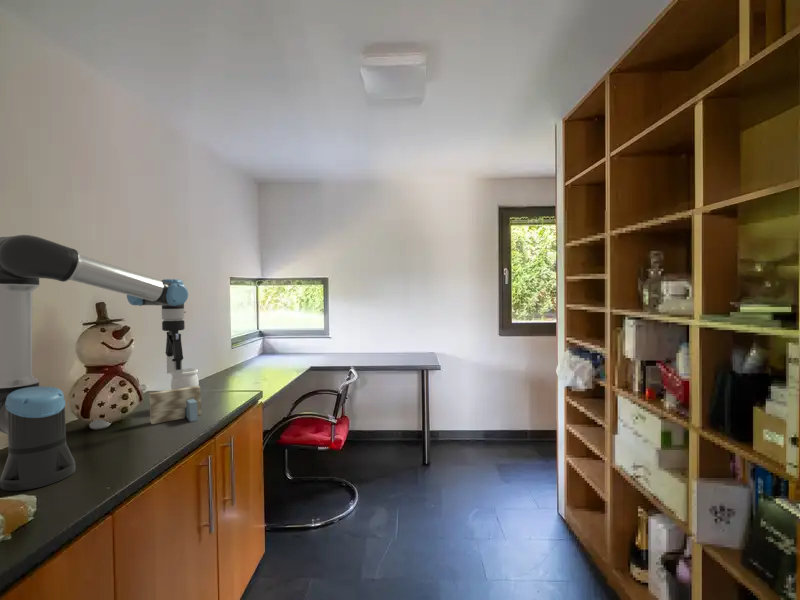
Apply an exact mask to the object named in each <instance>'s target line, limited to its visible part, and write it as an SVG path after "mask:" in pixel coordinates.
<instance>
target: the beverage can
mask: <svg viewBox="0 0 800 600" xmlns="http://www.w3.org/2000/svg"><path fill="white" fill-rule="evenodd" d="M111 424H112V422H111V423H109V422H106V421H104V420H102V419H101V420H100V419H99V421H98V420H94V421H93V422H91V423H90V424H89V423H88V425H89V428H90V429H91V430H102V429H106V428H108V427H110V425H111Z"/></svg>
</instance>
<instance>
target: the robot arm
mask: <svg viewBox="0 0 800 600" xmlns="http://www.w3.org/2000/svg"><path fill="white" fill-rule="evenodd" d="M40 279H47V280H48V279H49V280H54V281H58V282H62V283H65V282H68V281H73V282H77V283H81V284H85V285H87V286H92V287H96V288H100V289H103V290H104V289H105V290H108V291H111V292H116V293H119V294H122V295H126V299H127V302H128V303H129V304H130V305H132V306H139V307H143V306H161V320H162V322H161V330H162V331H164V332H166V342H165V343H166V344H165V355H166V374H171V373H174V379H179V378H182V369H183V360H184V355H183V353H184V352H183V346H182V345H183V344H182V333H179V332H180V331H184V330H185V324H186V323H185V320H183V319H185V314H186V313H187V311H185V303H186V302H187V300H188V298H189V291H188V288H187V287H186V286H185V285H184V280H182V279H178V278H177V279H174V278H173V279H170V278H167V279H165V278H163V279H162V280H160V279H158V278H154V277H151V276H148V275H145V274H142V273H138V272H135V271H132V270H129V269H126V268H122V267H121V266H120V267H119V266H116V265H114V264H111V263H110V264H109V263H107V262H104V261H101V260H98V259H95V258H92V257H88V256H85V255H82V254H80V252H79V250H77V249H75V248H73V247H72V248H71V247H68V246H65V245H63V244H60V243H57V242H54V241H51V240H49V239H46V238H42V237H38V236H34V235H31V234H18V235H11V236H0V433H2V434H6V435H7V450H8V456H7V458H6V460H5V464H4V467H3V470H2V473H1V476H0V489H1V490H3V491H7V492H8V491H9V492H19V491H27V490H28V491H29V490H32V489H38V488H42V487H46V486H49V485H53V484H56V483H58V482H60V481H63V480H65V479H66V478H68V477H70V476H71V475H73V474H75V471H76V460H75V458H74V456H73V454H72V453H71V450H70V448H69V445H68V444H67V432H66V430H67V428H66V400H65V396H64V394H65V393H64V391H62V389H60V388H59V387H54V386H49V385H48V386H43V385H42V386H40V380H39V379H38V378H37V377H36V376H34V375H33V292H34V291H35V290H36V289H37V288H39V287H40Z"/></svg>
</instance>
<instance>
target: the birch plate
mask: <svg viewBox="0 0 800 600" xmlns="http://www.w3.org/2000/svg"><path fill="white" fill-rule="evenodd" d="M201 388H202V386H200V385H199V386H194V387H187V388H180V389H173V390H171V389H167V390H160V391H154V392H149V417H150V420H149V421H150V423H151V425H155V424H161V423H165V422H170V421H175V420H180V419H181V420H182V419H186V416H185V408H186V407H187V401H186V400H189V399H194V400H195V401H197V414H198V416H202V394H201V393H202V391H201Z"/></svg>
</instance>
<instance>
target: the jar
mask: <svg viewBox="0 0 800 600" xmlns="http://www.w3.org/2000/svg"><path fill="white" fill-rule="evenodd" d="M198 373H199V369H197V368H182V378H179V379H174V373H170V375H171V380H170V381H171V382H170V390H173V389H180V388H187V387H194V386H200V385H199V384H200V383H199V376H198Z"/></svg>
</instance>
